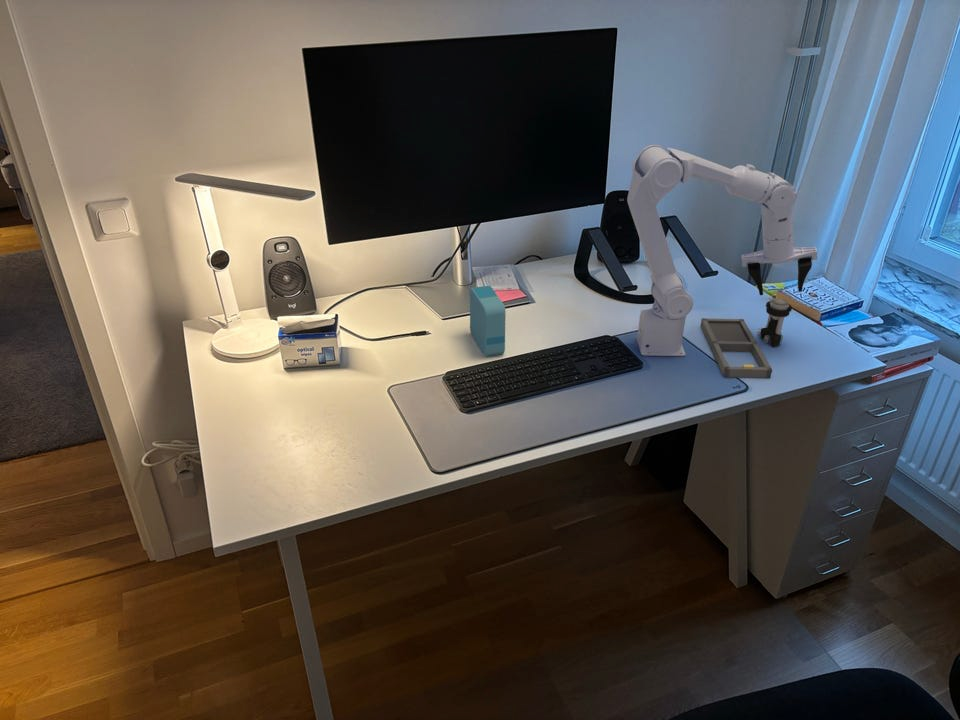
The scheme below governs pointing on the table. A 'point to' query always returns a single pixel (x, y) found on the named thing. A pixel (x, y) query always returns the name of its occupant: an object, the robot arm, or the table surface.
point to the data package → (487, 320)
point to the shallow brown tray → (734, 347)
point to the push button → (775, 321)
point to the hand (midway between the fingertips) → (780, 291)
